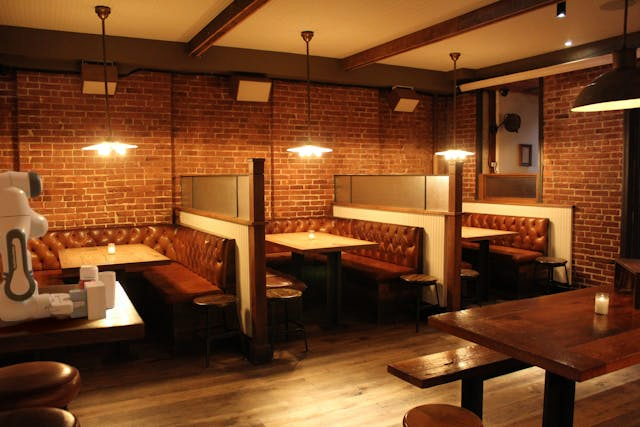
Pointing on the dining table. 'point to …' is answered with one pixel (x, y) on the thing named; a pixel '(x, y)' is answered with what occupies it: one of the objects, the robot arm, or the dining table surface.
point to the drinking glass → (108, 287)
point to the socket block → (95, 299)
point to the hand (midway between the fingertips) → (83, 301)
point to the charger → (75, 297)
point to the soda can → (85, 279)
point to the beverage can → (89, 271)
